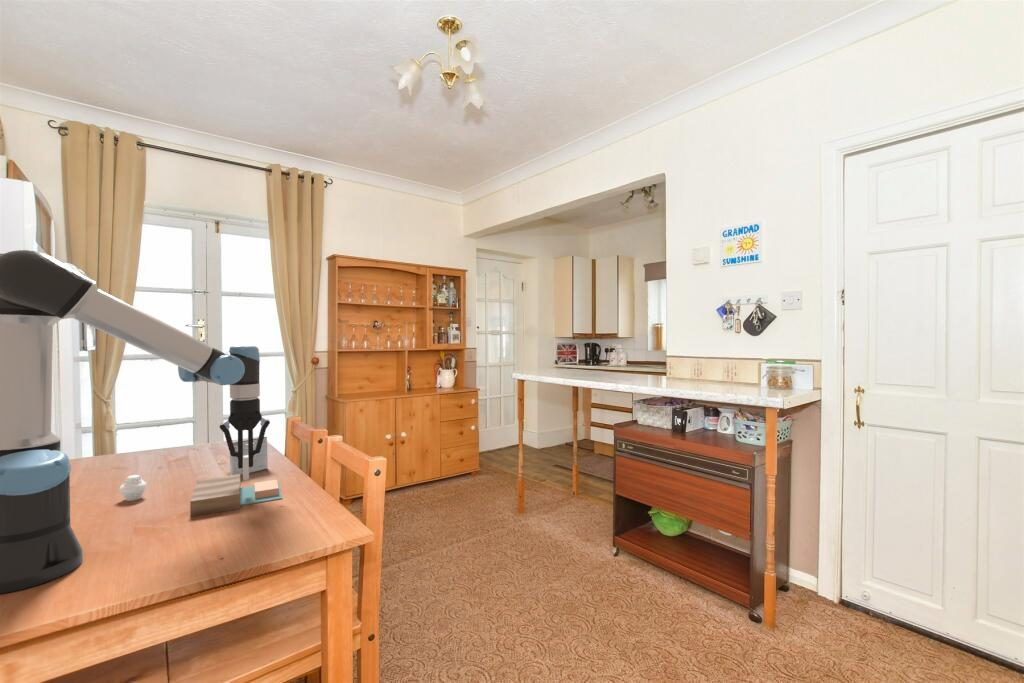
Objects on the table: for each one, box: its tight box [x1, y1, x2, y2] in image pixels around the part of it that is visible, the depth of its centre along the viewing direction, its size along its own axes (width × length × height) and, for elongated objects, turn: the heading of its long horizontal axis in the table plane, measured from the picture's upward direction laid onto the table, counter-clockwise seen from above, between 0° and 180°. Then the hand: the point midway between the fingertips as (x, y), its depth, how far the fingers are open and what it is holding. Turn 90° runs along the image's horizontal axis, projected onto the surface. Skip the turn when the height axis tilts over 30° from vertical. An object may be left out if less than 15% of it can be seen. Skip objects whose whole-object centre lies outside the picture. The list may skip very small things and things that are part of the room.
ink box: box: [229, 436, 269, 476], centre depth 155 cm, size 12×2×12 cm, turn 141°
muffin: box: [118, 474, 148, 502], centre depth 130 cm, size 6×6×7 cm
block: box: [253, 479, 278, 499], centre depth 135 cm, size 9×6×2 cm, turn 31°
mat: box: [240, 481, 283, 507], centre depth 134 cm, size 16×11×1 cm
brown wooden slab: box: [189, 474, 241, 518], centre depth 129 cm, size 20×11×4 cm, turn 31°
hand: (245, 478), depth 133 cm, fingers closed
